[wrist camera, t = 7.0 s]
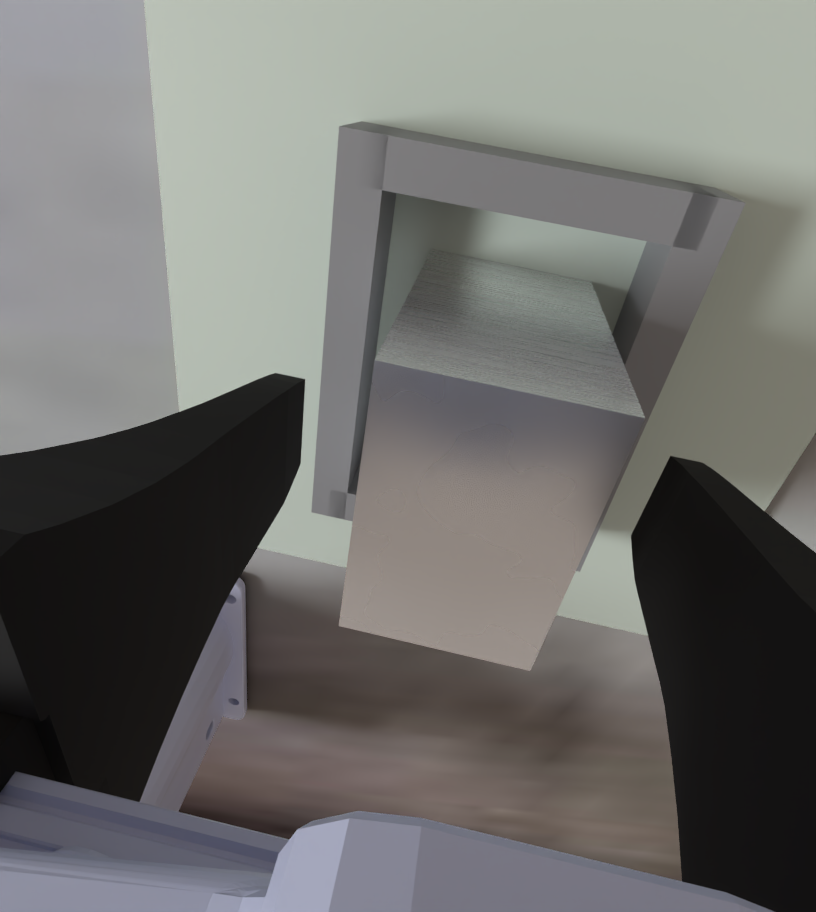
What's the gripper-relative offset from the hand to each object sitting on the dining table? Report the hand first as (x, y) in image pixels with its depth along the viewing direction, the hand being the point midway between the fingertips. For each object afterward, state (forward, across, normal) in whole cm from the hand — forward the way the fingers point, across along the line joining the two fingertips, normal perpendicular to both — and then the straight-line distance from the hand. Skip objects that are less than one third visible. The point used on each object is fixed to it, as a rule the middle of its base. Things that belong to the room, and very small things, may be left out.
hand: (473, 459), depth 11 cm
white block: (+5, 0, 0) cm, 5 cm away
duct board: (+6, 0, 0) cm, 6 cm away
